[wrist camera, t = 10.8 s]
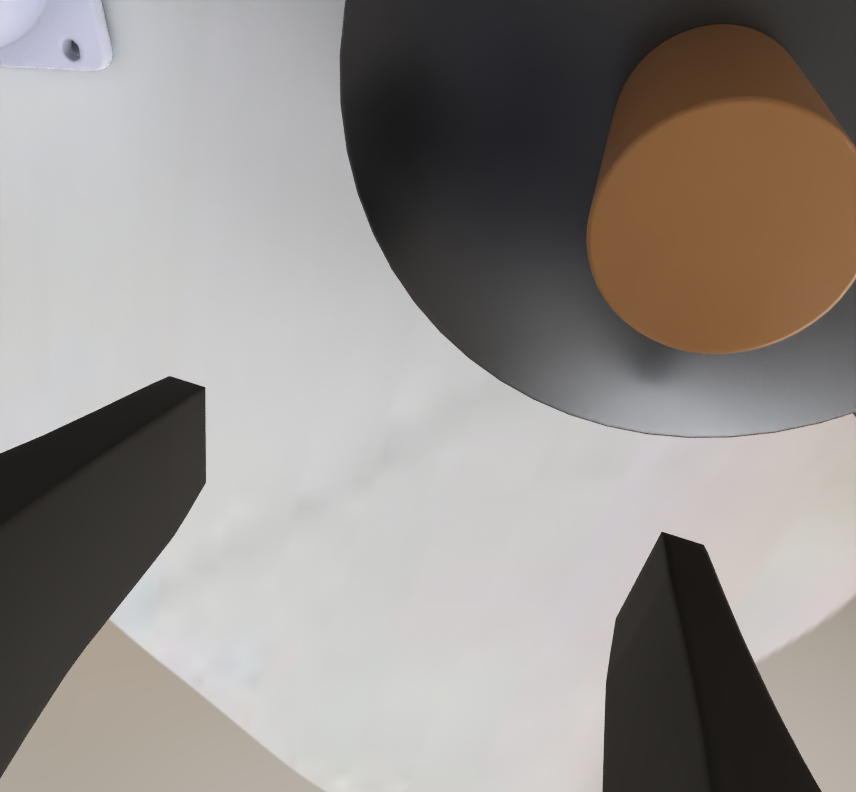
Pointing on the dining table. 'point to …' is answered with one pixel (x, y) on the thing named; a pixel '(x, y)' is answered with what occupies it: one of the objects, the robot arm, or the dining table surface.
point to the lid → (621, 198)
